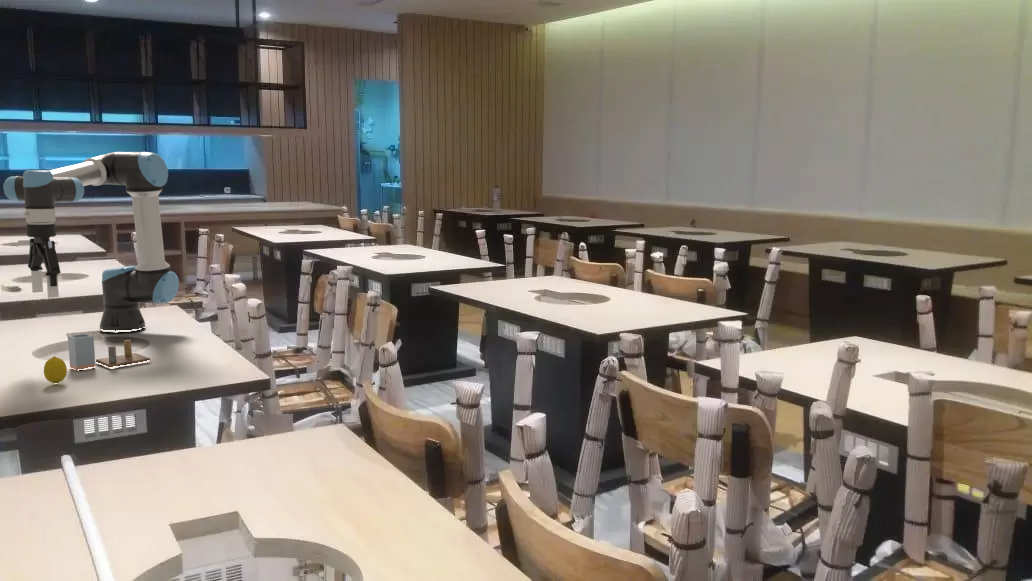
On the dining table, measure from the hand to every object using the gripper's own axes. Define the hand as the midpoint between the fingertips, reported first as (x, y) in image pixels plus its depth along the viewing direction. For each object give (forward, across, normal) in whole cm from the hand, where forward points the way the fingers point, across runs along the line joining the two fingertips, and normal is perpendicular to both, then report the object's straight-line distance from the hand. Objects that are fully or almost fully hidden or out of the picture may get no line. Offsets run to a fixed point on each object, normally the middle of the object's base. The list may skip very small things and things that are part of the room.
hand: (45, 294), depth 241 cm
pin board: (+22, +12, +17) cm, 30 cm away
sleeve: (+22, +10, +6) cm, 25 cm away
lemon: (+22, +23, -6) cm, 33 cm away
